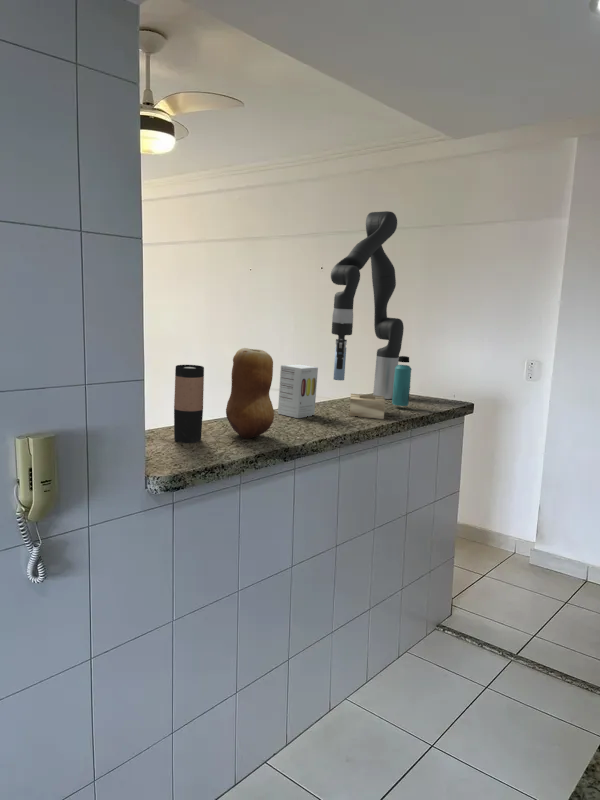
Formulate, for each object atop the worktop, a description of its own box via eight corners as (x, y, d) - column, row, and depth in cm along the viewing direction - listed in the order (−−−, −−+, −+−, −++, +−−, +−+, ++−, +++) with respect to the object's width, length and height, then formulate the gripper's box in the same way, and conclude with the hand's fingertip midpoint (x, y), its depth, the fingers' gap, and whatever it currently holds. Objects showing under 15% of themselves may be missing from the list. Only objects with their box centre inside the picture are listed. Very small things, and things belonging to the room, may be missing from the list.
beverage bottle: (409, 410, 224) (414, 357, 220) (392, 409, 224) (396, 356, 220) (406, 407, 230) (411, 355, 227) (389, 406, 230) (394, 354, 227)
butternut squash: (282, 438, 168) (287, 351, 164) (245, 445, 159) (249, 352, 154) (250, 428, 178) (255, 345, 173) (214, 434, 168) (217, 346, 164)
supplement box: (297, 418, 196) (301, 368, 193) (276, 414, 202) (279, 364, 199) (315, 415, 204) (318, 366, 200) (294, 410, 209) (297, 363, 206)
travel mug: (167, 438, 161) (169, 365, 157) (191, 434, 166) (193, 364, 162) (183, 444, 155) (185, 369, 152) (207, 440, 161) (210, 367, 157)
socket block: (349, 409, 218) (350, 393, 217) (382, 412, 217) (383, 396, 216) (349, 416, 206) (350, 399, 205) (383, 418, 205) (385, 401, 204)
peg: (333, 378, 222) (335, 346, 219) (344, 379, 221) (346, 347, 219) (333, 380, 218) (335, 347, 215) (344, 380, 217) (346, 348, 215)
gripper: (333, 319, 223) (330, 365, 226) (331, 322, 209) (328, 370, 212) (353, 320, 222) (350, 366, 225) (352, 323, 208) (349, 371, 211)
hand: (339, 367), depth 219 cm, fingers closed on peg, 4 cm apart
